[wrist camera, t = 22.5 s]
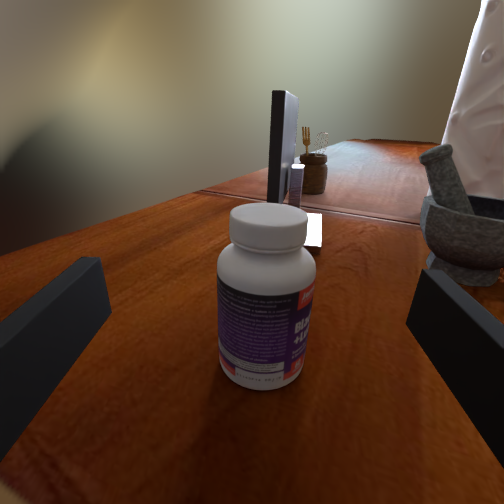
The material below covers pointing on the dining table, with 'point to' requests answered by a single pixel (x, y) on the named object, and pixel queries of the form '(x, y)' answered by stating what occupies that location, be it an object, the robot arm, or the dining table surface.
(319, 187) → the utensil holder
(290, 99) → the monitor screen
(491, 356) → the robot arm
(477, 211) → the mortar and pestle
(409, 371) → the dining table surface
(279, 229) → the pill bottle
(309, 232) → the monitor stand
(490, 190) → the vase
